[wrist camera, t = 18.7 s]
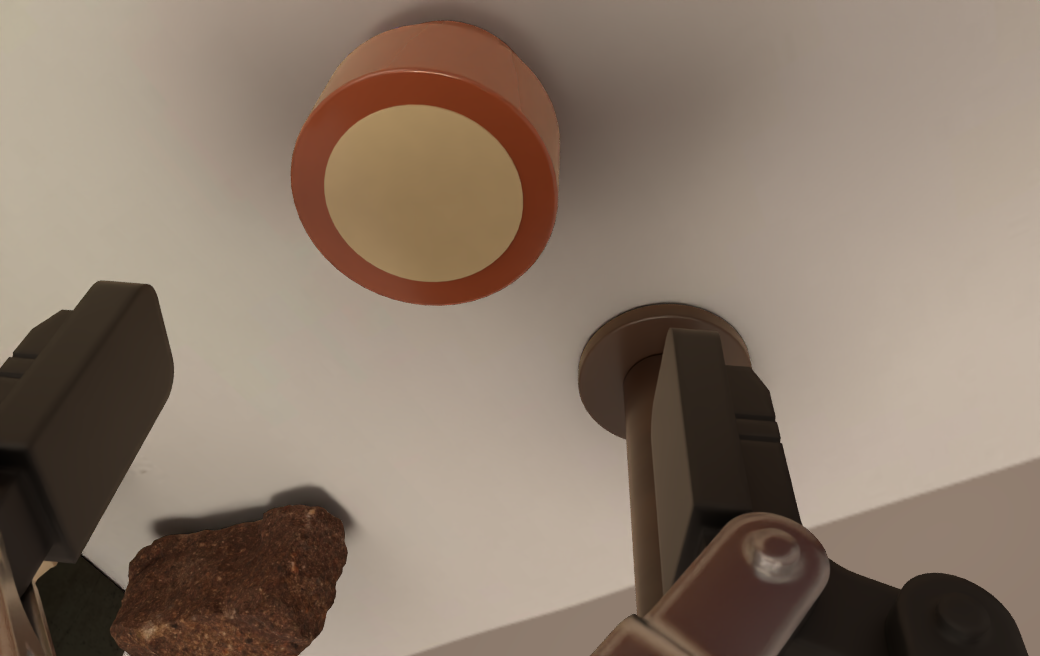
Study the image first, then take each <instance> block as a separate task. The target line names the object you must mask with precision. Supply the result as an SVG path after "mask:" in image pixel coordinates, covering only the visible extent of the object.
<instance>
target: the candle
mask: <svg viewBox="0 0 1040 656" xmlns="http://www.w3.org/2000/svg"><path fill="white" fill-rule="evenodd" d="M35 584H36V586H37V589H38V592H39V595H40V599H41V603H42V606H43V610H44V613H45V617H46V620H47V624H48V628H49V631H50V635H51V638H52V642H53V645H54V649H55V653H56V656H123V654H124V650H123V649H121V648H119V646H118V645H117V643H116V641H115V639H114V638H113V637H112V636H111V633H110V628H111V626H112V624H113V621H114V620H115V619H116V617H117V613H118V611H119V609H120V608H121V606H122V599H123V597H124V594H125V593H124V592H123V591H122V590H121V589H120V588H118V587H117V586H116V585H115V584H114V583H113V582H111V581H110V580H109V579H108V578H107V577H105V576H104V575H103V574H102V573H101V572H99V571H98V570H97V569H96V568H95V567H94V566H92V565H91V564H90V563H89V562H88V561H86V560H85V559H84V558H82V557H81V556H80V557H79V558H78V560H77V562H76V564H75V563H63V562H58V563H57V565H56V566H54V567H52V568H50V569H49V570H48V571H47V572H45V573H44V574H43V575H42V576H40V577H39V578H38V579H37V581H36V583H35Z"/></svg>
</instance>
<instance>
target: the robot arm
mask: <svg viewBox="0 0 1040 656" xmlns="http://www.w3.org/2000/svg"><path fill="white" fill-rule="evenodd" d="M173 378H174V363H173V357H172V353H171V349H170V345H169V341H168V337H167V333H166V329H165V325H164V321H163V317H162V313H161V309H160V305H159V301H158V297H157V294H156V292H155V290H154V288H153V287H152V286H151V285H149V284H139V283H127V282H114V281H98V282H96V283H95V284H94V285H93V286H92V287H91V288H90V289H89V291H88V292H87V293H86V295H85V296H84V297H83V298H82V300H81V301H80V302H79V304H78V305H77V306H76V307H75V309H74V310H73V311H72V310H61V311H59V312H58V313H56V314H55V315H53V316H52V317H50V318H49V319H47V320H45V321H44V322H42V323H41V324H39V325H38V326H36V327H35V328H33V329H32V330H31V331H30V332H29V334H28V335H27V336H26V337H25V338H24V340H23V341H22V342H21V343H20V345H19V346H18V347H17V348H16V349H15V351H14V352H13V357H9V358H8V359H7V360H6V362H5V363H4V364H3V365H2V367H1V368H0V656H56V653H55V649H54V645H53V642H52V638H51V635H50V631H49V628H48V624H47V620H46V617H45V613H44V610H43V606H42V603H41V599H40V595H39V592H38V589H37V586H36V584H35V582H34V580H33V578H34V576H35V574H36V573H37V571H38V569H39V568H40V566H41V564H42V563H43V561H52V562H63V563H75V564H76V562H77V560H78V558H79V557H80V555H81V553H82V551H83V549H84V548H85V546H86V544H87V542H88V541H89V539H90V537H91V535H92V533H93V532H94V530H95V528H96V526H97V524H98V523H99V521H100V519H101V517H102V516H103V514H104V512H105V510H106V508H107V507H108V505H109V503H110V501H111V499H112V498H113V496H114V494H115V492H116V491H117V489H118V487H119V485H120V483H121V482H122V480H123V478H124V476H125V475H126V473H127V471H128V469H129V467H130V466H131V464H132V462H133V460H134V458H135V457H136V455H137V453H138V451H139V450H140V448H141V446H142V444H143V442H144V441H145V439H146V437H147V435H148V433H149V432H150V430H151V428H152V426H153V425H154V423H155V421H156V419H157V417H158V416H159V414H160V412H161V410H162V408H163V407H164V405H165V403H166V401H167V399H168V397H169V395H170V392H171V389H172V384H173ZM775 417H776V416H775V412H774V408H773V404H772V400H771V396H770V392H769V390H768V389H767V387H766V386H765V385H764V384H763V382H762V381H761V380H760V379H759V377H758V376H757V375H756V374H755V372H754V371H753V370H752V369H751V367H745V366H733V365H725V360H724V355H723V350H722V344H721V339H720V335H719V333H718V332H717V331H707V330H694V329H682V328H669V330H668V333H667V336H666V341H665V346H664V351H663V356H662V361H661V366H660V371H659V376H658V381H657V386H656V391H655V396H654V402H653V409H652V419H651V444H652V457H653V470H654V483H655V496H656V509H657V522H658V535H659V548H660V560H661V573H662V586H663V597H662V598H661V599H660V600H659V601H658V602H657V604H656V605H655V606H654V607H653V608H652V609H651V610H650V611H649V612H648V613H647V614H646V615H645V616H644V617H642V618H640V617H639V616H638V615H636V614H632V615H630V616H628V617H627V618H625V619H624V620H623V621H622V622H621V623H619V624H618V626H616V628H615V629H614V630H613V631H612V632H611V633H610V634H609V635H608V636H607V637H606V639H605V640H604V641H603V642H602V643H601V644H600V645H599V646H598V647H597V649H596V650H595V651H594V652H593V653H592V654H591V655H590V656H1028V653H1027V650H1026V648H1025V645H1024V642H1023V640H1022V637H1021V634H1020V632H1019V629H1018V627H1017V625H1016V623H1015V621H1014V619H1013V618H1012V616H1011V615H1010V613H1009V612H1008V610H1007V609H1006V608H1005V607H1004V606H1003V605H1002V604H1001V603H1000V602H999V601H998V600H997V599H996V598H995V597H994V596H992V595H991V594H990V593H989V592H987V591H986V590H984V589H983V588H981V587H979V586H978V585H976V584H974V583H972V582H970V581H968V580H966V579H963V578H960V577H957V576H954V575H949V574H943V573H927V574H922V575H918V576H916V577H914V578H912V579H910V580H909V581H908V582H907V583H906V584H905V585H904V586H903V588H902V589H898V588H895V587H892V586H889V585H887V584H884V583H881V582H878V581H875V580H873V579H869V578H867V577H864V576H861V575H859V574H856V573H854V572H851V571H849V570H847V569H845V568H843V567H841V566H840V565H838V564H836V563H835V562H833V561H832V560H830V559H829V558H828V556H827V554H826V551H825V549H824V548H823V546H822V544H821V543H820V542H819V541H818V539H817V538H816V537H815V536H814V535H813V534H812V533H811V532H810V531H809V530H808V529H806V528H805V527H803V526H802V523H801V520H800V516H799V512H798V508H797V503H796V499H795V495H794V491H793V487H792V483H791V479H790V474H789V470H788V466H787V462H786V458H785V454H784V450H783V445H782V443H780V439H781V437H780V433H779V429H778V425H777V422H775Z"/></svg>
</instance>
